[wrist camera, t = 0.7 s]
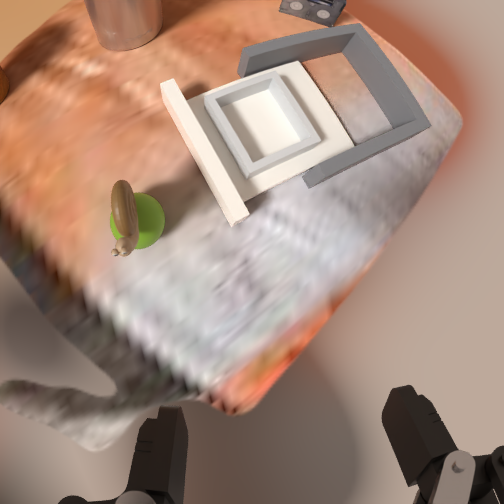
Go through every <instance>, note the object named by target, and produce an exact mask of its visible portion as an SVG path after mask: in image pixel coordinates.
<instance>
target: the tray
mask: <svg viewBox="0 0 504 504" xmlns="http://www.w3.org/2000/svg"><path fill="white" fill-rule="evenodd" d="M160 87H161V92H162V98H163V102H164V104H165V106H166V108H167V110H168V111H169V113H170V115H171V117H172V119H173V121H174V123H175V124H176V126H177V128H178V130H179V132H180V134H181V136H182V137H183V139H184V141H185V143H186V145H187V147H188V148H189V150H190V152H191V154H192V156H193V158H194V160H195V161H196V163H197V165H198V167H199V169H200V171H201V172H202V174H203V176H204V178H205V180H206V182H207V183H208V185H209V187H210V189H211V191H212V193H213V194H214V196H215V198H216V200H217V202H218V204H219V205H220V207H221V209H222V211H223V213H224V215H225V216H226V218H227V220H228V222H229V224H230V226H231V227H233V226H234V225H236V224H238V223H240V222H242V221H244V220H245V219H246V218H247V217H248V216H249V215H250V213H249V212H248V210H247V208H246V206H245V204H244V203H243V202H245V201H247V200H249V199H251V198H253V197H255V196H257V195H259V194H261V193H263V192H265V191H267V190H269V189H271V188H273V187H275V186H277V185H279V184H281V183H283V182H285V181H287V180H289V179H291V178H293V177H295V176H297V175H299V174H301V173H303V172H305V171H307V170H309V169H311V168H313V167H315V166H316V165H317V164H319V163H321V162H323V161H325V160H327V159H329V158H331V157H333V156H336V155H338V154H340V153H342V152H344V151H346V150H349V149H351V148H353V147H355V146H354V144H353V142H352V141H351V139H350V137H349V136H348V134H347V132H346V131H345V129H344V128H343V126H342V124H341V123H340V121H339V119H338V118H337V116H336V115H335V113H334V112H333V110H332V109H331V107H330V105H329V104H328V102H327V101H326V99H325V98H324V96H323V95H322V93H321V92H320V90H319V89H318V88H317V86H316V85H315V83H314V82H313V80H312V79H311V78H310V76H309V75H308V73H307V72H306V71H305V69H304V68H303V66H302V65H301V64H300V62H299V61H295V62H292V63H288V64H285V65H281V66H278V67H275V68H272V69H269V70H265V71H262V72H259V73H256V74H253V75H250V76H247V77H245V78H242V79H239V80H236V81H233V82H231V83H228V84H225V85H223V86H220V87H218V88H215V89H213V90H210V91H208V92H205V93H203V94H200V95H198V96H196V97H193V98H191V99H189V100H185V98H184V96H183V94H182V93H181V91H180V89H179V87H178V86H177V84H176V82H175V80H174V79H173V78H172V79H170V80H167V81H165V82H163V83H160Z"/></svg>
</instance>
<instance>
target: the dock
mask: <svg viewBox="0 0 504 504" xmlns="http://www.w3.org/2000/svg"><path fill="white" fill-rule="evenodd" d="M340 52H342V53H343V54H344V56H345V57H346V58H347V60H348V61H349V62H350V64H351V65H352V66H353V68H354V69H355V71H356V72H357V73H358V75H359V76H360V78H361V79H362V80H363V82H364V83H365V85H366V86H367V88H368V89H369V91H370V92H371V94H372V95H373V97H374V98H375V100H376V101H377V103H378V104H379V106H380V107H381V109H382V111H383V112H384V114H385V115H386V117H387V119H388V120H389V122H390V124H391V125H392V127H393V130H391V131H389V132H386V133H384V134H382V135H379V136H377V137H375V138H373V139H370V140H368V141H366V142H364V143H362V144H359V145H357V146H355V147H353V148H351V149H349V150H346V151H344V152H342V153H340V154H338V155H336V156H333V157H331V158H329V159H327V160H325V161H323V162H321V163H319V164H317V165H316V166H315V167H314V168H312V169H311V170H310V171H309V172H308V173H307V174H305V175H304V176H303V177H302V178H303V179H304V181H305V183H306V185H307V186H308V188H311V187H313V186H315V185H317V184H319V183H321V182H323V181H325V180H327V179H329V178H331V177H333V176H335V175H337V174H339V173H341V172H343V171H345V170H347V169H349V168H351V167H353V166H355V165H357V164H359V163H361V162H363V161H365V160H367V159H369V158H371V157H373V156H375V155H377V154H379V153H381V152H383V151H385V150H387V149H389V148H391V147H393V146H396V145H398V144H400V143H402V142H404V141H406V140H408V139H410V138H412V137H413V136H415V135H417V134H419V133H420V132H422V131H424V130H425V129H427V128H429V127H431V124H430V122H429V120H428V119H427V117H426V115H425V114H424V112H423V110H422V109H421V107H420V105H419V104H418V102H417V100H416V99H415V97H414V96H413V94H412V93H411V91H410V90H409V88H408V87H407V85H406V84H405V82H404V81H403V79H402V78H401V76H400V75H399V73H398V72H397V70H396V69H395V68H394V66H393V65H392V63H391V62H390V61H389V59H388V58H387V57H386V55H385V54H384V53H383V51H382V50H381V49H380V47H379V46H378V45H377V44H376V42H375V41H374V40H373V39H372V37H371V36H370V35H369V34H368V32H367V31H366V30H365V29H364V28H363V26H362V25H361V24H360V23H357V24H350V25H343V26H336V27H330V28H324V29H319V30H314V31H309V32H304V33H299V34H294V35H290V36H286V37H282V38H278V39H274V40H270V41H266V42H262V43H259V44H255V45H252V46H248V47H245V48H243V49H242V53H241V58H240V62H239V66H238V71H237V72H238V74H239V75H240V77H241V78H245V77H247V76H250V75H253V74H256V73H259V72H262V71H265V70H269V69H272V68H275V67H278V66H281V65H285V64H288V63H292V62H295V61H299V62H304V61H307V60H311V59H315V58H319V57H323V56H327V55H331V54H335V53H340Z"/></svg>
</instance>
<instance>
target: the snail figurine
mask: <svg viewBox="0 0 504 504" xmlns="http://www.w3.org/2000/svg"><path fill="white" fill-rule="evenodd" d="M111 206H112V213H111V217H110V226H111V230H112V233H113V235H114V237H115V238H116V239H117V242H116V249H113V250H112V252H111V253H112V255H113V256H117V255H120V256H123V257H125V256H128V255H129V254H130V253H131V252H132V251H133V250H134V249H143V248H146V247H149V246H151V245H152V244H154V243H155V242H156V241H157V240H158V239H159V237H160V236H161V234H162V232H163V229H164V225H165V216H164V211H163V209H162V207H161V205H160V204H159V202H158V201H157V200H156V199H155V198H153V197H152V196H150V195H148V194H145V193H133V191H132V188H131V186H130V184H129V183H128V182H127V181H125V180H119V181H117V182H116V183H115V184H114V186H113V189H112V194H111Z"/></svg>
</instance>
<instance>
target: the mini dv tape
mask: <svg viewBox="0 0 504 504" xmlns="http://www.w3.org/2000/svg"><path fill="white" fill-rule="evenodd" d="M345 6H346V0H282V2H281V5H280V9H279V12H282V13H286V14H289V15H293V16H296V17H300V18H303V19H306V20H310V21H313V22H316V23H319V24H322V25H325V26H328V27H332V26H333V25H334V23H335V22H336V20H337V18H338V17H339V15H340V13H341V12H342V10H343V9H344V7H345Z"/></svg>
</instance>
